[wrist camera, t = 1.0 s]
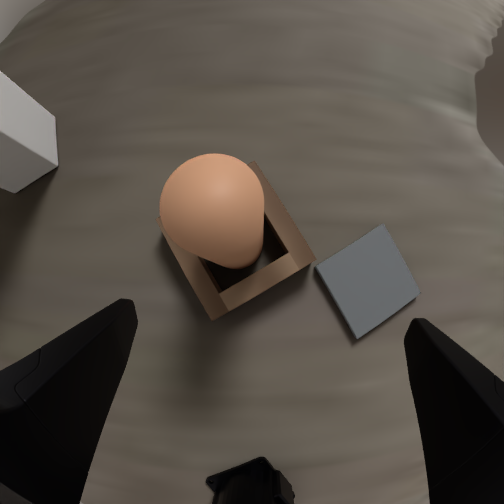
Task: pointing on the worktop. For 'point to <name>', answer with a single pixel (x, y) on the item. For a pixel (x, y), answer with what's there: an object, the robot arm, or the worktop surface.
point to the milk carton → (24, 138)
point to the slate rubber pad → (368, 280)
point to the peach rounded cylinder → (215, 210)
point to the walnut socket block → (260, 280)
